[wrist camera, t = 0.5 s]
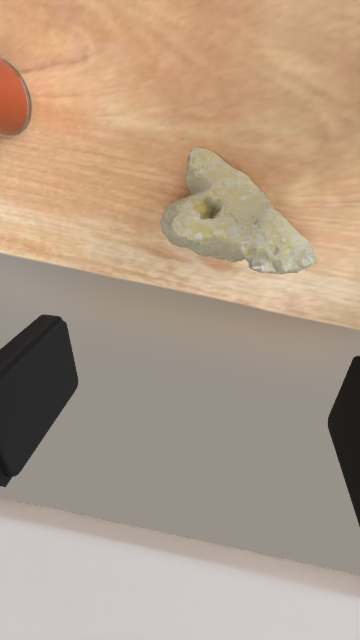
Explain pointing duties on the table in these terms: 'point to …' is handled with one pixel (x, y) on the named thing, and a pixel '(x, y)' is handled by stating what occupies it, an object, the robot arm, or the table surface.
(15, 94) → the tin can
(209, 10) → the table surface
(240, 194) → the holed limestone rock
